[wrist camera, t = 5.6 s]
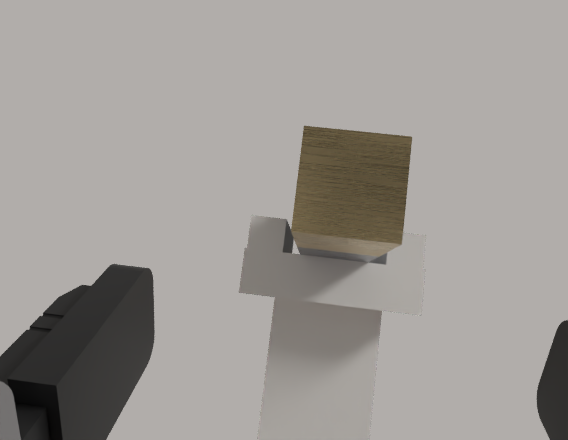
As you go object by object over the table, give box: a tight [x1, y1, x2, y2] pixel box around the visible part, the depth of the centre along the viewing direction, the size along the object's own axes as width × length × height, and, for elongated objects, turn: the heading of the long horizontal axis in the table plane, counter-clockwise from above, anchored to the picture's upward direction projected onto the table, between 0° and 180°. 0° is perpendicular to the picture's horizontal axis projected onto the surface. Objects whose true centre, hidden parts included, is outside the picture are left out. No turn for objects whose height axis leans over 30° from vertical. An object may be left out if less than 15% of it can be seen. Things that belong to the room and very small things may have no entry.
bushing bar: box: [291, 126, 412, 263], centre depth 26 cm, size 3×23×3 cm, turn 177°
